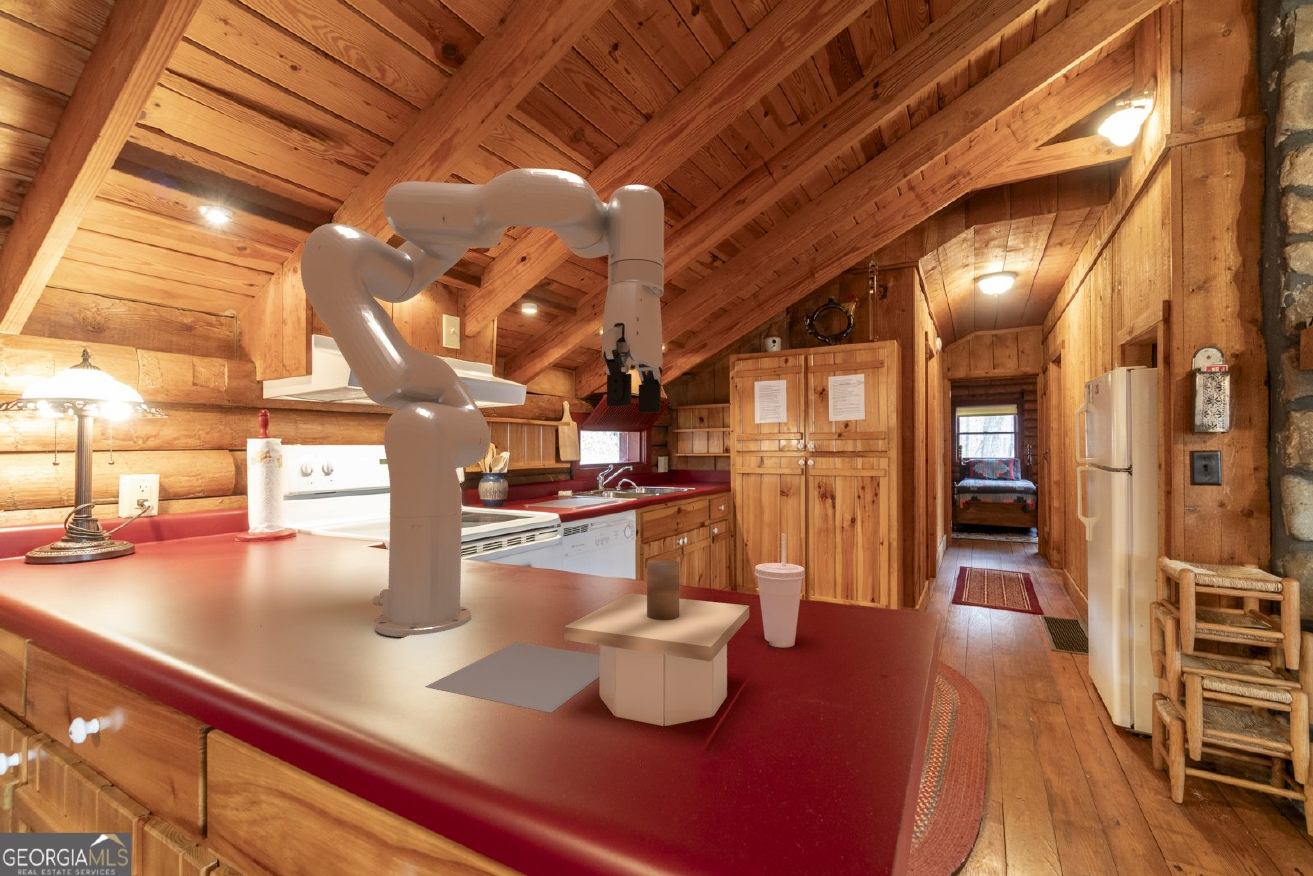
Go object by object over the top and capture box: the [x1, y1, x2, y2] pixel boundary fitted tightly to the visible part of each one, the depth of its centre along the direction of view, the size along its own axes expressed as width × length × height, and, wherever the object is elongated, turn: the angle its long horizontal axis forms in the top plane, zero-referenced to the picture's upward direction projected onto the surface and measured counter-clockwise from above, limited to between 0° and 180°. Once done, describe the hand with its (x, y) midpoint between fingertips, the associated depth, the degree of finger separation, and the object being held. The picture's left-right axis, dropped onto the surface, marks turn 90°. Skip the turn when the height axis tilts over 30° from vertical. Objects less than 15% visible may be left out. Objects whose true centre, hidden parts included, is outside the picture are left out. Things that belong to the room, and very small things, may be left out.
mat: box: [424, 641, 600, 714], centre depth 61 cm, size 15×15×1 cm
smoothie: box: [754, 533, 806, 648], centre depth 72 cm, size 6×6×14 cm
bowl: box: [598, 642, 728, 727], centre depth 55 cm, size 12×12×7 cm
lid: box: [563, 559, 750, 661], centre depth 55 cm, size 14×14×6 cm
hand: (635, 409), depth 75 cm, fingers open, 9 cm apart
